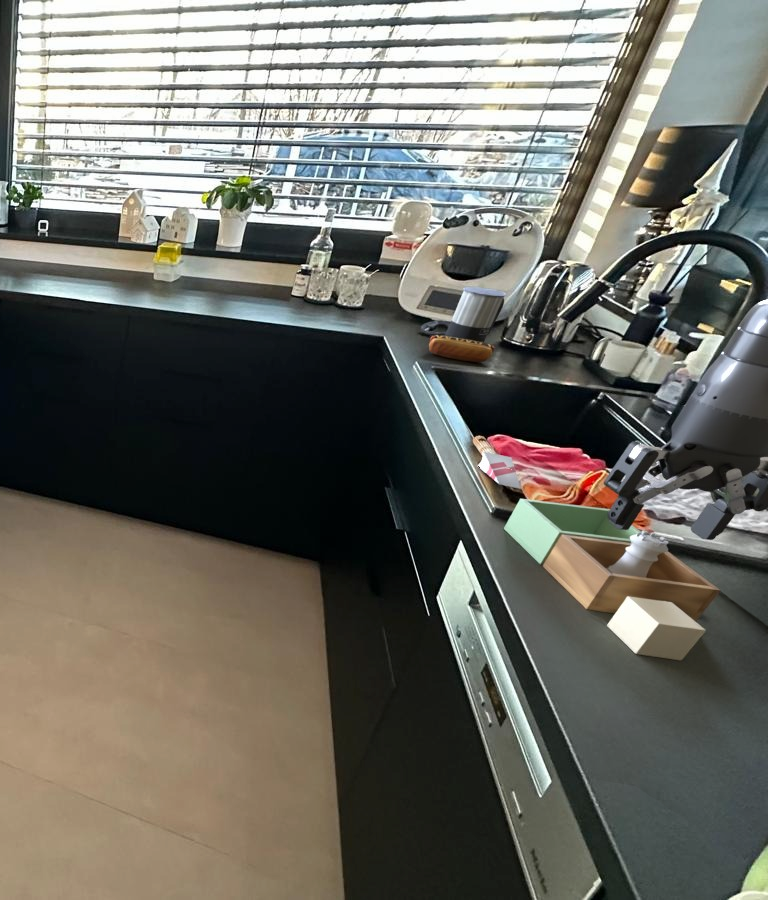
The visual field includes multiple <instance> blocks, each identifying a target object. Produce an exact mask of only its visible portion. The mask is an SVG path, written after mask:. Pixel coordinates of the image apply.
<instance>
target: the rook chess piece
mask: <svg viewBox="0 0 768 900" xmlns="http://www.w3.org/2000/svg"><path fill="white" fill-rule="evenodd" d="M630 540H631V543H632V545H631V546H629V547H626V553H625V554H624V555H623V556H622V557H621V558H620V559H619V560H618V561H617V562H616V563H615V564H614V565H611V566H609V568H606V569H607V570H608V571H609V572H610V573H613V574H620V575H628V576H635V577H643V578H646V575H647V573H648V570H649V568H650V566H651V565H652V563H653V562H655V561H658V558H657V556H658V555H659V554H661V553H664V552H669V548H668V544H669V541H668V539H667V538H666V537H664V536H660V537H659V538H658V533H656V532H653V531H652V532H651V533H650V534H649V531H647V530H639V532H638V534H636V535H633V536H630Z"/></svg>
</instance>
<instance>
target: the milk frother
mask: <svg viewBox="0 0 768 900" xmlns="http://www.w3.org/2000/svg"><path fill="white" fill-rule="evenodd" d="M462 289H463V292H462V294H461V297H460V298H459V302H458V303H457V306H456V309H455V311H454V313H453V315H452V318H451V321H450V322H449V321H445V320H434V321H429V322H426V323H424V324H422V325H421V327H420V331H421V333H423V334H425V335H428V336H431V337H432V336H434V335H439V336H449V337H456V338H461V339H467V340H473V341H478V342H483V343H485V341H486V339H487V337H488V335H489V334H490V333H491V331H492V330H493V327H494V326H495V324H496V321H497V320H498V317H499V315H500V313H501V312H502V309H503V308H504V306H505V297H506V296H507V293H505V292H504V291H502V290H496V289H492V288H486V287H478V286H465V287H463V288H462ZM438 327H445V328H447V330H446V331H442V332H439V331H438V332H436V331H435V330H436V329H437V328H438Z"/></svg>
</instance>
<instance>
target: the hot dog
mask: <svg viewBox="0 0 768 900" xmlns="http://www.w3.org/2000/svg"><path fill="white" fill-rule="evenodd" d="M428 349H429V352H430V353H432V354H434V355H436V356H440V357H444V358H447V359H453V360H458V361H463V362H464V361H465V362H470V363H471V362H472V363H473V362H474V363H484V362H486V361H487V360H489V359H490V358H491V357H492V356H493V352H494V351H495V346H494V345H493V344H490V343H485V342H484V343H483V342H478V341H473V340H467V339H461V338H456V337H449V336H439V335H434V336H431V337H430V338H429V342H428Z"/></svg>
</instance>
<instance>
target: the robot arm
mask: <svg viewBox="0 0 768 900" xmlns="http://www.w3.org/2000/svg"><path fill="white" fill-rule="evenodd" d="M670 430H671V438H670V439H669V440H668V441H667V442H666V443H665V444H664V445H662V446H661V447H659V446H651V445H647V444H645V443H644V442H642V441H640V440H634V441H631V442H630V443H629V444H628V445H627V447H626V448H625V450H624V451H623V453H622V454H621V456H620V457H619V459H618V460H617V461H616V463H615V464H614V466H613V467H612V469H611V470H610V472H609V473H608V475H607V476H606V477H605V479H604V481H603V485H604V486H605V487H606V488H608V489H609V490H611V491H612V492H614V493H615V494H616V495H617V498H616V499H615V501H614V502H613V503H612V505H611V507H610V508H609V509H610V510H609V512H608V513H607V518H608V521H609V523H611V524H612V525H613V526H614V527H616V528H617V529H620V530H628V529H629V528H630V527H631V525H633V524H634V522H635V521H636V519H637V517H638V516H639V514H640V513H641V512H642V510H643V509H644V506H645V504H644V503H646V502H648V501H649V500H652V499H653V498H655V497H657V496H659V495H667V494H670V493H672V492H674V491H677V490H678V489H680V490H688V491H690V490H700V491H703V492H706V493H710V495H711V499H712V502H714V503H709V502H707V504H706V505H705V507H704V508H703V509H702V511H701V512H700V513H699V515H698V517H697V518H696V519H695V521H694V522H693V524H692V525H691V527H690V531H691V532H692V533H693V534H695V536H696V537H697V536H698V537H699V538H700V539H702V540H706V541H713V540H715V539H716V537H719V535H721V534H722V533H723V532H725V529H726V528H727V527H728V526H729V524H730V523H731V521H732V520H733V519H734V517H735V516H736V515H740V514H742V513H744V512H745V511H751V510H753V511H755V512H763V511H766V510H767V509H768V299H764V300H762V301H760V302H758V303H756V304H754V306H752V307H751V308H750V309H749V310H748V311H747V313H746V314H745V316H744V317H743V318H742V319H741V321H740V323H739V324H738V326H737V328H736V329H735V331H734V332H733V334H732V336H731V337H730V339H729V340H728V342H727V343H726V345H725V347H724V348H723V349H722V351H721V353H720V354H719V356H717V358H716V359H715V360H714V362H713V363H711V365H710V366H709V367H708V368H707V370H706V371H705V373H704V374H703V375H702V377H701V379H700V380H699V382H698V383H697V385H696V387H695V388H694V390H693V391H692V393H691V395H690V396H689V398H688V399H687V401H686V403H685V404H684V405H683V408H682V409H681V410H680V412H679V414H678V416H677V417H676V418H675V420H674V421H673V424H672V425H671V429H670ZM659 475H662V478H663V479H664V480H661V479H659V478H657V476H659ZM743 477H745V478H744V480H742V479H743ZM646 486H647V487H646ZM642 488H643V489H642ZM640 489H641V490H640ZM757 490H758V492H757V494H756V495H755V493H756V491H757Z"/></svg>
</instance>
